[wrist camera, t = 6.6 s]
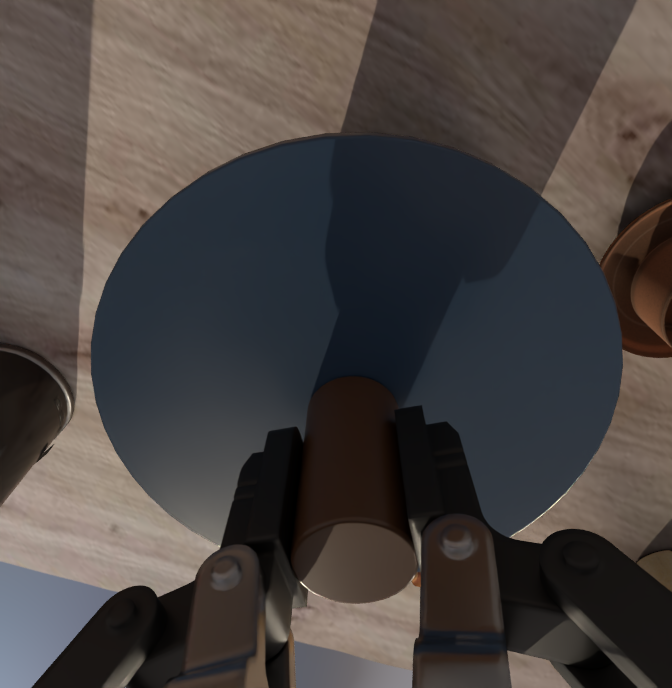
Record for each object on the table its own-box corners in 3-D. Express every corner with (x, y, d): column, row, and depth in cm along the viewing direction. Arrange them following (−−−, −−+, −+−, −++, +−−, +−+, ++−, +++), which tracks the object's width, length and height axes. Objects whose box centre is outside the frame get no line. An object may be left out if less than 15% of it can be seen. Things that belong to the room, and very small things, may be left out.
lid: (340, 600, 21) (336, 792, 15) (12, 375, 15) (-168, 544, 10) (694, 402, 15) (880, 587, 10) (377, -34, 10) (408, -136, 5)
